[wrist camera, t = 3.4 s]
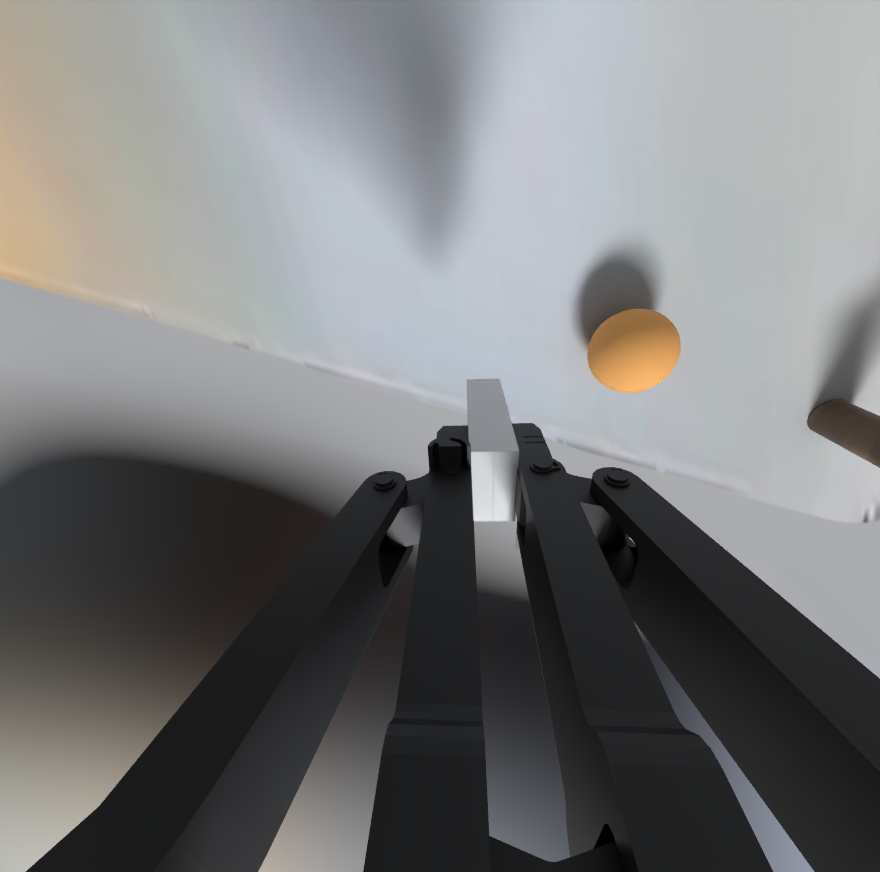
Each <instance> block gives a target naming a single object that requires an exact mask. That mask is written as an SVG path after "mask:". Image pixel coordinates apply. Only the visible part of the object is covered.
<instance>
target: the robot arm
mask: <svg viewBox="0 0 880 872" xmlns="http://www.w3.org/2000/svg"><path fill="white" fill-rule="evenodd" d="M467 417H468V426H443V427H442V428H441V429H440V430H439V431H438V432H437V439H435V440H433V441H432V442H430V444H429V445H428V456H429V467H430V470H429V473H428V474H426V475H425V476H423V477H420V478H417V479H414V480H410V481H406V479H405V477H404V476H403V475H402V474H400V473H397V472H393V471H384V472H379V473H376V474H374V475H372V476H370V477H369V478H367V479H366V480H365V481H364V482H363V484H362V485H361V486H360V487H359V488H358V490H357V491H356V492H355V494H354V495H353V496H352V497H351V498H350V499H349V501H348V502H347V503H346V504H345V506H344V507H343V508H342V509H341V511H340V512H339V513H338V514H337V515H336V517H335V518H334V519H333V520H332V522H331V523H330V524H329V525H328V526H327V528H326V529H325V530H324V531H323V533H322V534H321V535H320V536H319V538H318V539H317V540H316V541H315V542H314V544H313V545H312V546H311V547H310V549H309V550H308V551H307V552H306V554H305V555H304V556H303V557H302V559H301V560H300V561H299V562H298V563H297V565H296V566H295V567H294V568H293V570H292V571H291V572H290V573H289V574H288V576H287V577H286V578H285V579H284V580H283V582H282V583H281V584H280V585H279V587H278V588H277V589H276V590H275V591H274V593H273V594H272V595H271V596H270V598H269V599H268V600H267V601H266V602H265V604H264V605H263V606H262V607H261V609H260V610H259V611H258V612H257V613H256V615H255V616H254V617H253V618H252V620H251V621H250V622H249V623H248V624H247V626H246V627H245V628H244V630H243V631H242V632H241V633H240V634H239V636H238V637H237V638H236V639H235V641H234V642H233V643H232V644H231V645H230V647H229V648H228V649H227V650H226V651H225V653H224V654H223V655H222V656H221V658H220V659H219V660H218V661H217V663H216V664H215V665H214V666H213V668H212V669H211V670H210V671H209V672H208V674H207V675H206V676H205V677H204V679H203V680H202V681H201V682H200V683H199V685H198V686H197V687H196V688H195V689H194V691H193V692H192V693H191V695H190V696H189V697H188V698H187V699H186V701H185V702H184V703H183V704H182V705H181V707H180V708H179V709H178V711H177V712H176V713H175V714H174V715H173V716H172V718H171V719H170V720H169V721H168V723H167V724H166V725H165V726H164V728H163V729H162V730H161V731H160V732H159V734H158V735H157V736H156V737H155V738H154V740H153V741H152V742H151V744H150V745H149V746H148V747H147V748H146V750H145V751H144V752H143V753H142V754H141V756H140V757H139V758H138V759H137V761H136V762H135V763H134V764H133V765H132V767H131V768H130V769H129V770H128V772H127V773H126V774H125V775H124V776H123V778H122V779H121V780H120V781H119V783H118V784H117V785H116V786H115V788H114V789H113V790H112V791H111V792H110V794H109V795H108V796H107V797H106V799H105V800H104V801H103V802H102V803H101V805H100V806H99V807H98V808H97V809H96V810H94V811H93V812H92V813H91V814H90V815H89V816H88V817H87V818H85V819H84V821H82V822H81V823H80V824H79V825H78V826H76V827H75V829H73V830H72V831H71V832H70V833H69V834H67V835H66V836H65V837H64V838H63V839H62V840H61V841H60V842H59V843H57V844H56V845H55V846H54V847H53V848H52V849H51V850H50V851H48V852H47V853H46V854H45V855H44V856H43V857H42V858H41V859H39V860H38V861H37V862H36V863H35V864H34V865H33V866H32V867H30V869H28V870H27V871H26V872H258V870H259V869H260V867H261V865H262V863H263V861H264V859H265V857H266V855H267V853H268V851H269V849H270V847H271V845H272V843H273V841H274V838H275V836H276V834H277V832H278V830H279V828H280V826H281V824H282V822H283V820H284V818H285V816H286V813H287V811H288V809H289V807H290V805H291V803H292V801H293V799H294V797H295V795H296V792H297V791H298V788H299V786H300V784H301V782H302V780H303V778H304V776H305V774H306V772H307V770H308V768H309V766H310V764H311V761H312V759H313V757H314V755H315V753H316V751H317V749H318V747H319V745H320V743H321V740H322V738H323V736H324V734H325V732H326V730H327V728H328V726H329V724H330V722H331V720H332V718H333V716H334V714H335V711H336V709H337V707H338V705H339V703H340V701H341V699H342V697H343V695H344V693H345V690H346V688H347V686H348V684H349V682H350V680H351V678H352V676H353V674H354V672H355V670H356V668H357V666H358V664H359V662H360V659H361V657H362V655H363V653H364V651H365V649H366V647H367V645H368V643H369V641H370V639H371V637H372V634H373V632H374V630H375V628H376V626H377V624H378V622H379V620H380V618H381V616H382V614H383V612H384V609H385V607H386V605H387V603H388V601H389V599H390V597H391V595H392V593H393V591H394V589H395V587H396V584H397V582H398V580H399V578H400V576H401V574H402V572H403V570H404V568H405V566H406V564H407V562H408V559H409V557H410V555H411V553H412V551H413V546H414V545H415V544H419V548H418V555H417V562H416V570H415V576H414V583H413V590H412V597H411V605H410V612H409V619H408V626H407V633H406V641H405V647H404V654H403V662H402V669H401V676H400V683H399V690H398V697H397V704H396V710H395V714H394V717H393V719H392V721H391V722H390V723H389V725H388V728H387V731H386V735H385V739H384V745H383V750H382V756H381V762H380V768H379V774H378V781H377V787H376V794H375V800H374V807H373V813H372V819H371V826H370V833H369V839H368V845H367V852H366V858H365V865H364V871H363V872H773V870H772V868H771V866H770V864H769V862H768V860H767V859H766V856H765V854H764V852H763V850H762V848H761V846H760V844H759V842H758V840H757V838H756V836H755V834H754V832H753V830H752V828H751V826H750V824H749V822H748V820H747V818H746V816H745V814H744V812H743V810H742V808H741V806H740V804H739V802H738V800H737V797H736V796H735V793H734V791H733V789H732V787H731V785H730V783H729V781H728V779H727V777H726V775H725V773H724V771H723V769H722V768H721V765H720V764H719V762H718V760H717V759H716V757H715V755H714V753H713V752H712V750H711V748H710V747H709V746H708V745H707V744H706V743H705V742H704V740H703V739H702V738H701V737H700V736H699V735H697V734H695V733H693V732H691V731H689V730H687V729H685V728H684V727H683V725H682V724H681V723H680V722H679V720H678V718H677V716H676V714H675V712H674V710H673V708H672V706H671V704H670V702H669V699H668V697H667V695H666V693H665V690H664V688H663V686H662V684H661V681H660V679H659V677H658V675H657V672H656V670H655V668H654V666H653V664H652V661H651V659H650V657H649V655H648V653H647V651H646V648H645V646H644V644H643V641H642V639H641V637H640V635H639V632H638V630H637V628H636V626H635V624H634V622H635V623H636V625H637V626H638V628H639V629H640V630H641V632H642V633H643V634H644V636H645V637H646V639H647V640H648V641H649V642H650V644H651V646H652V647H653V648H654V650H655V651H656V652H657V654H658V655H659V657H660V658H661V659H662V661H663V662H664V663H665V665H666V666H667V668H668V669H669V670H670V672H671V673H672V675H673V676H674V677H675V679H676V680H677V681H678V683H679V684H680V686H681V687H682V688H683V690H684V691H685V693H686V694H687V695H688V697H689V698H690V700H691V701H692V702H693V704H694V705H695V706H696V708H697V709H698V711H699V712H700V713H701V715H702V716H703V718H704V719H705V720H706V721H707V723H708V724H709V726H710V727H711V729H712V730H713V731H714V733H715V734H716V736H717V737H718V738H719V740H720V741H721V743H722V744H723V745H724V747H725V748H726V749H727V751H728V752H729V754H730V755H731V756H732V758H733V759H734V761H735V762H736V763H737V765H738V766H739V767H740V769H741V770H742V772H743V773H744V774H745V776H746V777H747V779H748V780H749V781H750V783H751V784H752V785H753V787H754V788H755V790H756V791H757V792H758V794H759V795H760V797H761V798H762V799H763V801H764V802H765V804H766V805H767V806H768V808H769V809H770V810H771V812H772V813H773V815H774V816H775V817H776V819H777V820H778V821H779V823H780V824H781V826H782V827H783V829H784V830H785V831H786V833H787V834H788V835H789V837H790V838H791V840H792V841H793V842H794V844H795V845H796V847H797V848H798V849H799V851H800V852H801V853H802V855H803V856H804V858H805V859H806V860H807V862H808V863H809V865H810V866H811V867H812V869H813V870H814V871H815V872H880V679H879V678H878V677H877V676H876V675H875V674H873V673H872V672H871V671H870V670H869V669H867V668H866V667H865V666H864V665H863V664H861V663H860V662H859V661H858V660H857V659H855V658H854V657H853V656H852V655H851V654H850V653H848V652H847V651H846V650H845V649H844V648H842V647H841V646H840V645H839V644H838V643H836V642H835V641H834V640H833V639H832V638H830V637H829V636H828V635H827V634H826V633H824V632H823V631H822V630H821V629H820V628H818V627H817V626H816V625H815V624H814V623H812V622H811V621H810V620H809V619H808V618H806V617H805V616H804V615H803V614H801V613H800V612H799V611H798V610H797V609H796V608H794V607H793V606H792V605H791V604H790V603H788V602H787V601H786V600H785V599H784V598H782V597H781V596H780V595H779V594H778V593H776V592H775V591H774V590H773V589H772V588H770V587H769V586H768V585H767V584H766V583H765V582H763V581H762V580H761V579H760V578H759V577H757V576H756V575H755V574H754V573H753V572H751V571H750V570H749V569H748V568H746V567H745V566H744V565H743V564H742V563H741V562H739V561H738V560H737V559H736V558H735V557H733V556H732V555H731V554H730V553H729V552H727V551H726V550H725V549H724V548H723V547H721V546H720V545H719V544H718V543H716V542H715V541H714V540H713V539H712V538H711V537H709V536H708V535H707V534H706V533H704V532H703V531H702V530H701V529H700V528H699V527H697V526H696V525H695V524H694V523H693V522H692V521H690V520H689V519H688V518H687V517H686V516H684V515H683V514H682V513H681V512H680V511H678V510H677V509H676V508H675V507H674V506H672V505H671V504H670V503H669V502H668V501H666V500H665V499H664V498H663V497H662V496H660V495H659V494H658V493H657V492H656V491H654V490H653V489H652V488H651V487H650V486H648V485H647V484H646V483H645V482H644V481H642V480H641V479H640V478H639V477H638V476H636V475H634V474H633V473H631V472H629V471H626V470H623V469H620V468H614V467H607V468H601V469H597V470H596V471H595V472H594V473H593V476H592V479H589V478H583V477H578V476H574V475H570V474H568V473H566V470H565V468H564V466H563V465H562V464H561V463H560V462H558V461H556V460H555V459H553V458H552V456H551V454H550V451H549V449H548V446H547V444H546V443H545V439H544V437H543V434H542V432H541V430H540V429H539V428H538V427H537V426H535V425H534V424H533V423H518V424H512V423H511V419H510V416H509V412H508V408H507V405H506V401H505V397H504V394H503V390H502V386H501V383H500V379H475V380H467ZM515 513H516V515H517V533H516V534H517V535H516V549H519V548H520V553H521V558H522V564H523V569H524V575H525V580H526V586H527V591H528V596H529V602H530V607H531V612H532V618H533V623H534V629H535V634H536V639H537V645H538V650H539V656H540V661H541V667H542V672H543V678H544V683H545V689H546V694H547V699H548V705H549V710H550V716H551V721H552V727H553V732H554V738H555V743H556V748H557V754H558V759H559V765H560V770H561V775H562V781H563V786H564V793H565V802H566V822H567V833H568V843H569V850H570V856H571V857H570V858H567V859H564V860H561V861H558V862H548V861H545V860H543V859H540V858H538V857H535V856H534V855H531V854H529V853H527V852H525V851H522V850H520V849H518V848H515V847H513V846H511V845H508V844H506V843H504V842H502V841H500V840H497V839H495V838H493V837H490V836H489V822H488V802H487V781H486V760H485V740H484V727H483V717H482V698H481V674H480V655H479V653H480V652H479V633H478V632H479V631H478V609H477V608H478V607H477V585H476V564H475V541H474V521H515ZM629 537H630V538H631V539H632V540H633V542H634V543H635V544H634V543H633V542H632V541H631V540H630V539H629Z"/></svg>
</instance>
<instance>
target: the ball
mask: <svg viewBox="0 0 880 872" xmlns="http://www.w3.org/2000/svg"><path fill="white" fill-rule="evenodd" d="M679 355H680V337H679V334H678V332H677V329H676V328H675V326H674V325H673V323H672V322H671V321H670V320H669V319H668V318H667V317H665V316H664V315H662V314H660V313H658V312H656V311H653V310H649V309H639V308H638V309H629V310H625V311H622V312H619V313H617V314H615V315H613V316H611V317H609V318H608V319H607V320H605V321H604V322H603V323H602V324H601V325H600V326H599V327H598V328H597V330H596V331H595V332H594V334H593V336H592V338H591V340H590V343H589V347H588V355H587V356H588V363H589V367H590V370H591V372H592V373H593V375H594V376H595V378H596V379H597V380H598V381H599V382H600V383H601V384H603V385H604V386H606V387H607V388H610V389H612V390H615V391H618V392H625V393H633V392H640V391H644V390H647V389H649V388H652V387H654V386H656V385H657V384H659V383H660V382H662V381H663V380H664V379H665V378H666V377H667V376H668V375H669V374H670V373H671V372H672V370H673V369H674V367H675V365H676V363H677V361H678V358H679Z"/></svg>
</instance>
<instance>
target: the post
mask: <svg viewBox="0 0 880 872" xmlns="http://www.w3.org/2000/svg"><path fill="white" fill-rule="evenodd" d="M808 427H809V428H810V429H811V430H812V431H814V432H816V433H818V434H820V435H821V436H823V437H825V438H827V439H829V440H831V441H832V442H834V443H836V444H838V445H840V446H841V447H843V448H845V449H847V450H849V451H850V452H852V453H854V454H856V455H858V456H859V457H861V458H863V459H865V460H867V461H869V462H870V463H872V464H874V465H876V466H878V467H879V468H880V416H878V415H876V414H873V413H871V412H869V411H866V410H864V409H862V408H860V407H857V406H855V405H853V404H850V403H848V402H846V401H843V400H831V401H828V402H825V403H823V404H821V405H820V406H818V407H817V408H816V409H815V410H814V411H813V412H812V413H811V414H810V416H809V418H808Z"/></svg>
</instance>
